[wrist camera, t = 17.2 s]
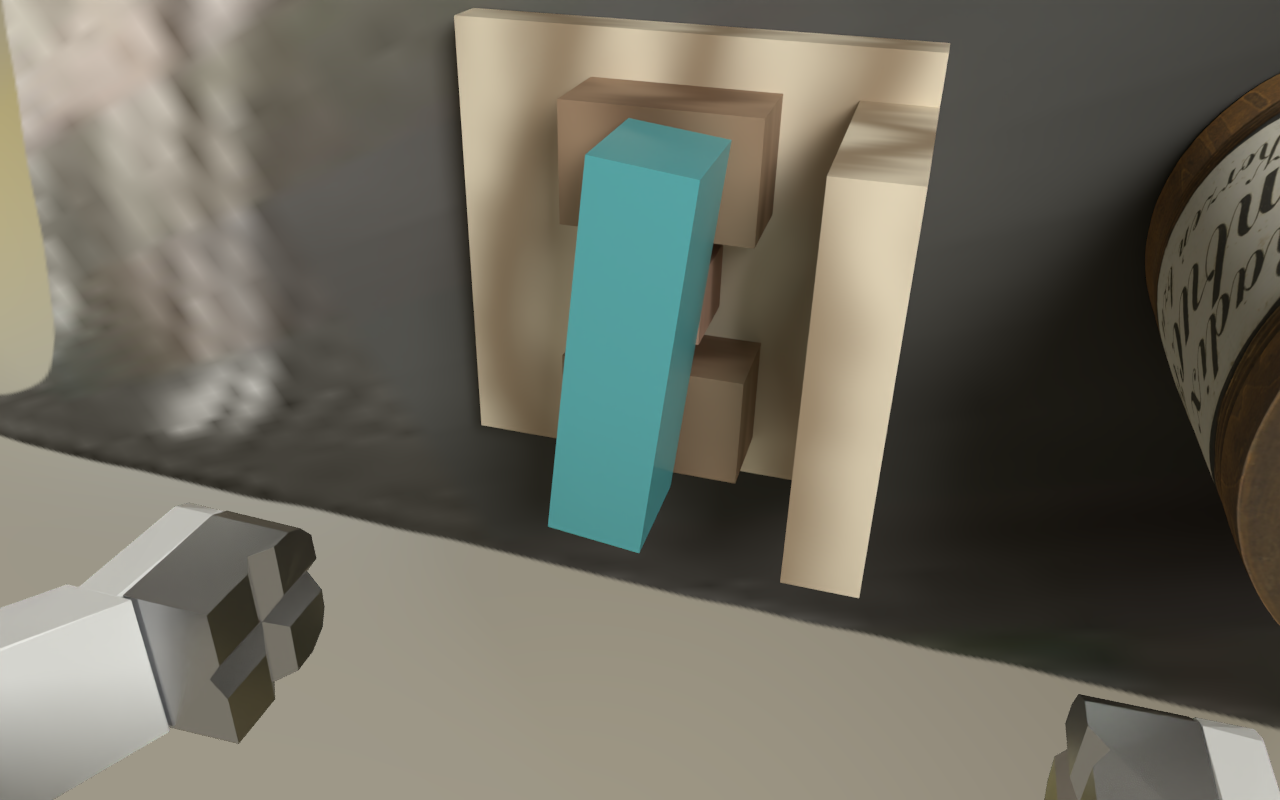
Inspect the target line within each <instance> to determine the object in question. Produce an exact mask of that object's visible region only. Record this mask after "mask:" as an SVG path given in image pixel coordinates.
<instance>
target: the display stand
mask: <svg viewBox="0 0 1280 800" xmlns="http://www.w3.org/2000/svg"><path fill="white" fill-rule="evenodd" d="M454 22H455V37H456V52H457V67H458V82H459V97H460V111H461V126H462V141H463V156H464V171H465V186H466V201H467V216H468V231H469V246H470V260H471V275H472V290H473V305H474V320H475V335H476V350H477V365H478V380H479V395H480V409H481V424H482V425H484V426H490V427H495V428H501V429H507V430H512V431H518V432H523V433H529V434H535V435H540V436H546V437H552V438H557V430H558V420H559V410H560V401H561V391H562V381H563V371H564V361H565V351H566V341H567V331H568V321H569V311H570V301H571V291H572V281H573V271H574V261H575V251H576V241H577V231H578V221H579V211H580V201H581V191H582V181H583V171H584V161H585V154H587V153H588V152H589V151H590V150H591V149H592V148H594V147H595V146H596V145H597V144H598V143H600V142H601V141H602V140H603V139H604V138H605V137H607V136H608V135H609V134H610V133H611V132H613V131H614V130H615V129H616V128H617V127H618V126H620V125H621V124H622V123H623V122H624V121H626V120H627V119H628V118H631V119H636V120H640V121H645V122H650V123H655V124H659V125H664V126H669V127H673V128H678V129H683V130H687V131H692V132H697V133H701V134H706V135H711V136H715V137H720V138H725V139H729V140H732V141H731V146H730V152H729V158H728V163H727V169H726V175H725V180H724V186H723V192H722V197H721V203H720V209H719V214H718V220H717V226H716V231H715V237H714V243H713V248H712V254H711V260H710V265H709V271H708V277H707V282H706V288H705V294H704V299H703V305H702V311H701V316H700V322H699V328H698V333H697V339H696V345H695V350H694V356H693V362H692V367H691V373H690V379H689V384H688V390H687V396H686V401H685V407H684V413H683V418H682V424H681V430H680V435H679V441H678V447H677V452H676V458H675V464H674V469H673V472H674V473H680V474H685V475H691V476H696V477H702V478H708V479H713V480H719V481H724V482H730V483H736V480H737V478H738V475H739V472H740V471H743V472H749V473H755V474H760V475H766V476H771V477H777V478H783V479H788V480H792V484H791V493H790V502H789V510H788V519H787V528H786V536H785V545H784V554H783V562H782V571H781V580H780V582H781V583H786V584H791V585H796V586H801V587H806V588H811V589H816V590H821V591H826V592H831V593H836V594H841V595H846V596H851V597H856V598H859V595H860V589H861V583H862V577H863V571H864V565H865V559H866V553H867V547H868V541H869V535H870V529H871V523H872V517H873V511H874V506H875V500H876V494H877V488H878V482H879V476H880V470H881V464H882V458H883V452H884V446H885V440H886V434H887V428H888V422H889V416H890V410H891V404H892V398H893V392H894V386H895V380H896V374H897V368H898V362H899V356H900V350H901V344H902V338H903V332H904V326H905V320H906V314H907V308H908V302H909V296H910V290H911V284H912V278H913V272H914V266H915V260H916V254H917V248H918V242H919V236H920V230H921V224H922V218H923V212H924V206H925V200H926V194H927V188H928V181H929V175H930V168H931V162H932V155H933V149H934V142H935V136H936V129H937V123H938V116H939V110H940V103H941V97H942V91H943V85H944V79H945V73H946V67H947V61H948V55H949V49H950V43H941V42H928V41H914V40H901V39H887V38H874V37H860V36H847V35H833V34H820V33H806V32H793V31H779V30H766V29H752V28H739V27H725V26H712V25H698V24H685V23H671V22H658V21H644V20H631V19H617V18H604V17H590V16H577V15H563V14H550V13H536V12H523V11H509V10H496V9H482V8H472V9H470V10H467V11H464V12H462V13H459V14H456V15H454Z"/></svg>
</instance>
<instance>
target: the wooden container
mask: <svg viewBox="0 0 1280 800" xmlns="http://www.w3.org/2000/svg"><path fill="white" fill-rule="evenodd" d="M1145 272H1146V282H1147V288H1148V293H1149V297H1150V301H1151V305H1152V309H1153V312H1154V316H1155V319H1156V323H1157V326H1158V329H1159V332H1160V337H1161V340H1162V343H1163V347H1164V350H1165V354H1166V357H1167V360H1168V363H1169V366H1170V369H1171V372H1172V375H1173V378H1174V381H1175V384H1176V387H1177V389H1178V392H1179V395H1180V397H1181V400H1182V402H1183V405H1184V408H1185V410H1186V413H1187V415H1188V418H1189V420H1190V423H1191V425H1192V427H1193V429H1194V432H1195V434H1196V437H1197V440H1198V442H1199V445H1200V447H1201V450H1202V453H1203V455H1204V458H1205V461H1206V463H1207V466H1208V469H1209V471H1210V474H1211V476H1212V479H1213V481H1214V484H1215V486H1216V489H1217V491H1218V494H1219V496H1220V499H1221V501H1222V503H1223V507H1224V510H1225V513H1226V517H1227V520H1228V523H1229V526H1230V529H1231V532H1232V535H1233V538H1234V541H1235V544H1236V546H1237V549H1238V551H1239V554H1240V557H1241V559H1242V561H1243V564H1244V566H1245V569H1246V571H1247V573H1248V576H1249V578H1250V580H1251V582H1252V584H1253V586H1254V588H1255V590H1256V591H1257V593H1258V595H1259V597H1260V599H1261V600H1262V602H1263V604H1264V605H1265V607H1266V608H1267V610H1268V611H1269V612H1270V614H1271V615H1272V617H1273V618H1274V619H1275V621H1276V622H1277V623H1278V624H1279V625H1280V74H1278V75H1276V76H1274V77H1272V78H1270V79H1269V80H1267V81H1265V82H1264V83H1262V84H1260V85H1259V86H1257V87H1256V88H1254V89H1253V90H1251V91H1250V92H1248V93H1247V94H1245V95H1244V96H1243V97H1241V98H1240V99H1239V100H1237V101H1236V102H1235V103H1234V104H1232V105H1231V106H1230V107H1229V108H1227V109H1226V110H1225V111H1224V112H1223V113H1222V114H1220V115H1219V116H1218V117H1217V118H1216V119H1215V120H1214V121H1213V122H1212V123H1211V124H1210V125H1209V126H1208V127H1207V128H1206V129H1205V130H1204V131H1203V132H1202V133H1201V134H1200V135H1199V136H1198V137H1197V138H1196V140H1195V141H1194V142H1193V143H1192V145H1191V146H1190V147H1189V148H1188V150H1187V151H1186V152H1185V153H1184V155H1183V156H1182V157H1181V158H1180V160H1179V161H1178V163H1177V164H1176V166H1175V168H1174V169H1173V171H1172V173H1171V174H1170V176H1169V178H1168V179H1167V181H1166V183H1165V185H1164V187H1163V189H1162V191H1161V193H1160V196H1159V198H1158V200H1157V203H1156V205H1155V208H1154V211H1153V214H1152V218H1151V222H1150V227H1149V231H1148V237H1147V243H1146V251H1145Z"/></svg>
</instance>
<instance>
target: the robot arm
mask: <svg viewBox="0 0 1280 800" xmlns="http://www.w3.org/2000/svg"><path fill="white" fill-rule="evenodd" d="M315 560H316V555H315V550H314V546H313V542H312V537H311V535H310V534H309V533H307V532H305V531H304V530H302V529H300V528H296V527H292V526H288V525H284V524H280V523H276V522H271V521H267V520H263V519H259V518H255V517H250V516H247V515H242V514H238V513H234V512H230V511H221V510H217V509H213V508H209V507H205V506H201V505H197V504H193V503H186V504H182V505H178V506H175V507H174V508H172V509H171V510H170V511H169V512H167V513H166V514H165V515H164V516H163V517H161V519H159V520H158V521H157V522H155V524H153V525H152V526H151V527H150V528H148V529H147V530H146V531H145V532H144V533H142V534H141V535H140V536H139V537H138V538H137V539H135V540H134V541H133V542H132V543H130V545H128V546H127V547H126V548H125V549H123V550H122V551H121V552H120V553H119V554H117V555H116V556H115V557H114V558H113V559H111V560H110V561H109V562H108V563H107V564H106V565H104V566H103V567H102V568H101V569H100V570H98V571H97V572H96V573H95V574H94V575H92V576H91V577H90V578H89V579H88V580H87V581H85V582H84V583H83V584H82V585H80V586H79V587H76V586H72V585H68V584H66V585H64V586H61V587H58V588H55V589H53V590H50V591H47V592H44V593H41V594H38V595H36V596H32V597H30V598H27V599H24V600H21V601H18V602H16V603H13V604H10V605H7V606H4V607H1V608H0V800H53V799H55V798H57V797H59V796H60V795H62V794H64V793H65V792H67V791H69V790H71V789H72V788H74V787H76V786H77V785H79V784H81V783H83V782H84V781H86V780H88V779H89V778H91V777H93V776H95V775H96V774H98V773H100V772H101V771H103V770H105V769H107V768H108V767H110V766H112V765H113V764H115V763H117V762H118V761H120V760H122V759H124V758H125V757H127V756H129V755H131V754H132V753H134V752H136V751H137V750H139V749H141V748H143V747H144V746H146V745H148V744H149V743H151V742H153V741H155V740H156V739H158V738H160V737H161V736H163V735H165V734H167V733H168V732H169V731H170V729H169V727H170V728H175V729H179V730H183V731H187V732H192V733H195V734H200V735H204V736H208V737H213V738H217V739H221V740H225V741H229V742H233V743H238V744H239V743H240V741H241V740H242V739H243V738H244V737H245V736H246V734H247V733H248V732H249V731H250V729H251V728H252V727H253V726H254V724H255V723H256V722H257V721H258V720H259V718H260V717H261V716H262V715H263V713H264V712H265V711H266V710H267V708H268V707H269V706H270V705H271V703H272V702H273V701H274V700H275V687H274V686H275V684H274V682H275V681H277V680H279V679H281V678H283V677H285V676H287V675H289V674H291V673H293V672H296V671H298V670H299V669H300V667H301V666H302V665H303V663H304V662H305V661H306V659H307V658H308V657H309V656H310V654H311V653H312V651H313V650H314V647H315V645H316V642H317V640H318V637H319V634H320V632H321V630H322V627H323V617H324V602H323V595H322V589H321V588H320V587H319V586H318V584H317V583H316V582H315V581H314V579H313V578H312V577H311V576H310V574H309V573H308V572H307V570H308V569H309V568H310V566H311V565H312V564H313V562H314V561H315ZM1066 737H1067V750H1066V751H1063V752H1062V753H1060V754H1058V755H1056V756H1055V757H1054V760H1053V764H1052V767H1051V771H1050V774H1049V778H1048V781H1047V787H1046V794H1045V799H1044V800H1280V790H1279V787H1278V784H1277V781H1276V778H1275V774H1274V771H1273V768H1272V765H1271V762H1270V759H1269V755H1268V752H1267V749H1266V746H1265V743H1264V739H1263V738H1262V737H1261V736H1260V735H1259V733H1258V732H1257V731H1256V730H1255V729H1252V728H1247V727H1242V726H1236V725H1231V724H1226V723H1221V722H1216V721H1211V720H1206V719H1200V718H1196V717H1195V718H1193V719H1192V718H1190V717H1187V716H1182V715H1178V714H1173V713H1168V712H1163V711H1158V710H1153V709H1148V708H1144V707H1139V706H1134V705H1129V704H1124V703H1119V702H1114V701H1110V700H1105V699H1100V698H1095V697H1090V696H1085V695H1080V694H1078V696H1077V697H1076V699H1075V700H1074V702H1073V703H1072V705H1071V708H1070V711H1069V714H1068V717H1067V720H1066Z"/></svg>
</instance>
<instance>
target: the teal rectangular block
mask: <svg viewBox="0 0 1280 800" xmlns="http://www.w3.org/2000/svg"><path fill="white" fill-rule="evenodd" d="M731 141H732V140H729V139H725V138H720V137H715V136H711V135H706V134H701V133H697V132H692V131H687V130H683V129H678V128H673V127H669V126H664V125H659V124H655V123H650V122H645V121H640V120H636V119H631V118H628V119H627V120H626V121H624V122H623V123H622V124H621V125H620V126H618V127H617V128H616V129H615V130H614V131H613V132H611V133H610V134H609V135H608V136H607V137H605V138H604V139H603V140H602V141H601V142H600V143H598V144H597V145H596V146H595V147H594V148H592V149H591V150H590V151H589V152H588V153H587V154H585V161H584V171H583V181H582V191H581V201H580V211H579V221H578V231H577V241H576V251H575V261H574V271H573V281H572V291H571V301H570V311H569V321H568V331H567V341H566V351H565V361H564V371H563V381H562V391H561V401H560V410H559V420H558V430H557V440H556V450H555V460H554V470H553V480H552V490H551V500H550V510H549V520H548V527H551V528H555V529H558V530H561V531H565V532H568V533H572V534H575V535H578V536H582V537H585V538H589V539H592V540H596V541H599V542H602V543H606V544H609V545H613V546H616V547H620V548H623V549H626V550H630V551H633V552H637V553H640V550H641V548H642V546H643V544H644V542H645V540H646V538H647V535H648V533H649V531H650V529H651V527H652V525H653V523H654V521H655V518H656V516H657V514H658V512H659V510H660V508H661V506H662V504H663V501H664V499H665V497H666V495H667V493H668V491H669V489H670V486H671V481H672V475H673V469H674V464H675V458H676V452H677V447H678V441H679V435H680V430H681V424H682V418H683V413H684V407H685V401H686V396H687V390H688V384H689V379H690V373H691V367H692V362H693V356H694V350H695V345H696V339H697V333H698V328H699V322H700V316H701V311H702V305H703V299H704V294H705V288H706V282H707V277H708V271H709V265H710V260H711V254H712V248H713V243H714V237H715V231H716V226H717V220H718V214H719V209H720V203H721V197H722V192H723V186H724V180H725V175H726V169H727V163H728V158H729V152H730V146H731Z"/></svg>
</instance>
